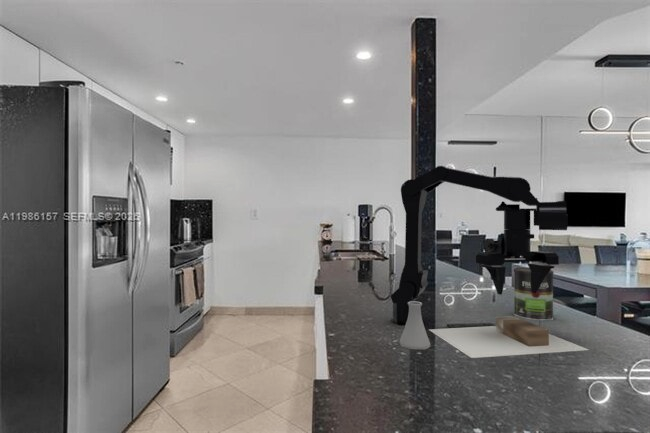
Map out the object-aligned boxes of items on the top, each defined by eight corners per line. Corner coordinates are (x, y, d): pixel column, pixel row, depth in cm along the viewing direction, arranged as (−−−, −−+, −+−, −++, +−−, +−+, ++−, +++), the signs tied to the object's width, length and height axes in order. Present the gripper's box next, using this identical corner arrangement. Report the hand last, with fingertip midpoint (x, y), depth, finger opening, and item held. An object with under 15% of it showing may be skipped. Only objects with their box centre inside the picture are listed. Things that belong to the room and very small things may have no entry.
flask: (432, 343, 87) (432, 300, 87) (430, 353, 80) (430, 307, 80) (400, 339, 89) (400, 298, 89) (396, 349, 82) (396, 304, 82)
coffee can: (557, 323, 103) (556, 272, 103) (515, 319, 107) (515, 271, 107) (550, 314, 113) (549, 268, 113) (512, 311, 117) (512, 266, 117)
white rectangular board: (471, 360, 76) (471, 357, 76) (428, 331, 96) (428, 329, 96) (589, 352, 81) (589, 349, 81) (525, 326, 100) (525, 324, 100)
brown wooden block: (548, 345, 84) (548, 329, 84) (529, 346, 83) (529, 330, 83) (513, 329, 95) (513, 316, 96) (495, 330, 95) (495, 317, 95)
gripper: (528, 228, 100) (527, 286, 100) (463, 228, 97) (463, 288, 97) (560, 230, 89) (560, 295, 89) (489, 230, 86) (489, 297, 86)
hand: (516, 293), depth 90 cm, fingers open, 9 cm apart
